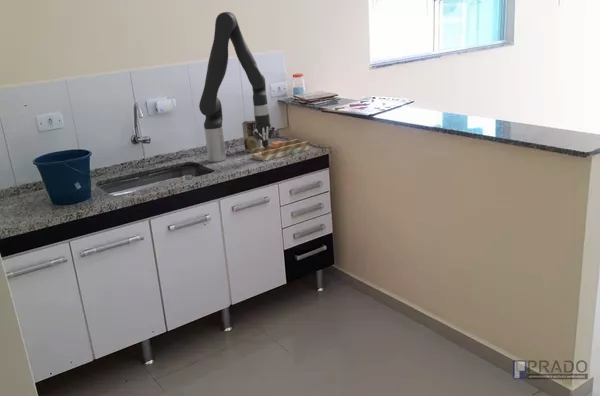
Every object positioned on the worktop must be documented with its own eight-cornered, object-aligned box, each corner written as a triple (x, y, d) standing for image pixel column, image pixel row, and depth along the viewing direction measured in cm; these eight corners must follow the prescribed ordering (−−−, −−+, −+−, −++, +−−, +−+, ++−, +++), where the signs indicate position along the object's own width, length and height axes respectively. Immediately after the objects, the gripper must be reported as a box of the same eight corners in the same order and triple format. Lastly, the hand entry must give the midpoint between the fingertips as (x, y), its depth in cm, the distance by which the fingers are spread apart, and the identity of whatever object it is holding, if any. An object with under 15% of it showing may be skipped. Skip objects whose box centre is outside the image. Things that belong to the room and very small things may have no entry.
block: (276, 151, 286) (276, 143, 285) (271, 150, 290) (270, 142, 289) (284, 149, 289) (284, 142, 288) (279, 148, 293) (278, 140, 292)
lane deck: (263, 161, 279) (262, 152, 278) (252, 157, 288) (251, 149, 286) (310, 149, 296) (309, 141, 294) (298, 146, 304) (297, 138, 303)
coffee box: (263, 148, 307) (260, 119, 302) (261, 151, 301) (258, 122, 296) (247, 149, 308) (244, 120, 303) (244, 152, 302) (241, 123, 297)
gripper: (254, 116, 272) (258, 150, 277) (276, 112, 279) (280, 145, 285) (246, 115, 278) (250, 148, 283) (268, 111, 285) (272, 143, 290)
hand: (265, 147), depth 284 cm, fingers closed
